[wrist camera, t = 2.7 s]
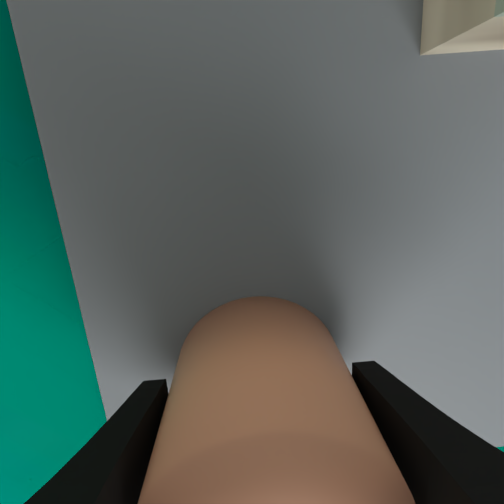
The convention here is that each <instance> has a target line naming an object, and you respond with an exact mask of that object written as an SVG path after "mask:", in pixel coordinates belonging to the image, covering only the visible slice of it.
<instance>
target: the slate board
mask: <svg viewBox="0 0 504 504" xmlns="http://www.w3.org/2000/svg"><path fill="white" fill-rule="evenodd" d="M6 1H7V5H8V9H9V13H10V18H11V22H12V26H13V30H14V34H15V38H16V43H17V47H18V51H19V55H20V59H21V63H22V68H23V72H24V76H25V80H26V84H27V88H28V93H29V97H30V101H31V105H32V109H33V113H34V118H35V122H36V126H37V130H38V134H39V138H40V143H41V147H42V151H43V155H44V159H45V163H46V168H47V172H48V176H49V180H50V184H51V188H52V193H53V197H54V201H55V205H56V209H57V213H58V218H59V222H60V226H61V230H62V234H63V238H64V243H65V247H66V251H67V255H68V259H69V263H70V268H71V272H72V276H73V280H74V284H75V288H76V293H77V297H78V301H79V305H80V309H81V313H82V318H83V322H84V326H85V330H86V334H87V338H88V343H89V347H90V351H91V355H92V359H93V363H94V368H95V372H96V376H97V380H98V384H99V388H100V393H101V397H102V401H103V405H104V409H105V413H106V418H107V421H108V420H109V419H110V417H111V416H112V415H113V414H114V413H115V412H116V411H117V410H118V409H119V407H120V406H121V405H122V404H123V403H124V402H125V401H126V400H127V398H128V397H129V396H130V395H131V394H132V393H133V392H134V391H135V390H136V388H137V387H138V386H139V385H140V384H141V383H142V382H143V381H147V380H159V379H166V382H167V388H168V394H169V390H170V387H171V383H172V380H173V376H174V373H175V369H176V366H177V362H178V359H179V355H180V351H181V348H182V346H183V343H184V341H185V339H186V337H187V335H188V334H189V332H190V331H191V329H192V328H193V327H194V326H195V324H196V323H197V322H198V321H199V320H200V319H201V318H203V317H204V316H205V315H206V314H208V313H209V312H210V311H212V310H214V309H215V308H217V307H219V306H221V305H223V304H226V303H228V302H230V301H234V300H237V299H241V298H247V297H258V296H266V297H276V298H280V299H285V300H288V301H291V302H293V303H296V304H298V305H300V306H302V307H304V308H306V309H307V310H309V311H310V312H312V313H313V314H314V315H315V316H316V317H317V318H319V319H320V320H321V321H322V323H323V324H324V325H325V326H326V328H327V329H328V331H329V332H330V334H331V336H332V338H333V340H334V342H335V344H336V346H337V348H338V350H339V351H340V353H341V355H342V357H343V359H344V361H345V363H346V365H347V367H348V369H349V371H350V373H351V375H352V363H353V362H364V361H375V362H377V363H378V364H380V365H381V366H382V367H384V368H385V369H386V370H387V371H389V372H390V373H391V374H393V375H394V376H395V377H397V378H398V379H399V380H400V381H402V382H403V383H404V384H406V385H407V386H408V387H410V388H411V389H412V390H413V391H415V392H416V393H417V394H419V395H420V396H421V397H423V398H424V399H426V400H427V401H428V402H430V403H431V404H432V405H434V406H435V407H436V408H438V409H439V410H441V411H442V412H443V413H445V414H446V415H448V416H449V417H451V418H452V419H453V420H455V421H456V422H458V423H459V424H461V425H462V426H464V427H465V428H467V429H468V430H470V431H471V432H473V433H474V434H476V435H477V436H479V437H480V438H482V439H483V440H485V441H486V442H488V443H490V444H491V445H493V446H494V447H501V446H504V49H503V50H488V51H474V52H460V53H446V54H432V55H420V47H421V31H422V15H423V0H6Z"/></svg>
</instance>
